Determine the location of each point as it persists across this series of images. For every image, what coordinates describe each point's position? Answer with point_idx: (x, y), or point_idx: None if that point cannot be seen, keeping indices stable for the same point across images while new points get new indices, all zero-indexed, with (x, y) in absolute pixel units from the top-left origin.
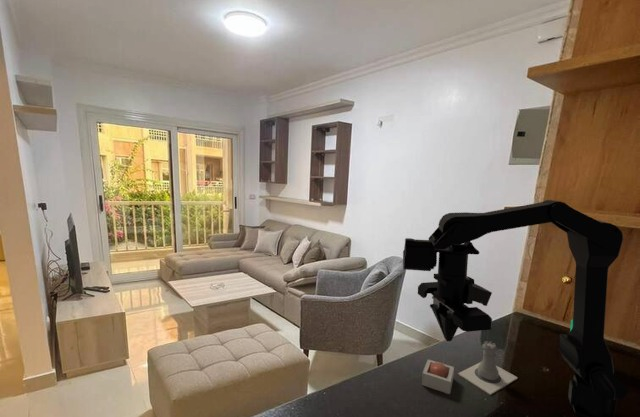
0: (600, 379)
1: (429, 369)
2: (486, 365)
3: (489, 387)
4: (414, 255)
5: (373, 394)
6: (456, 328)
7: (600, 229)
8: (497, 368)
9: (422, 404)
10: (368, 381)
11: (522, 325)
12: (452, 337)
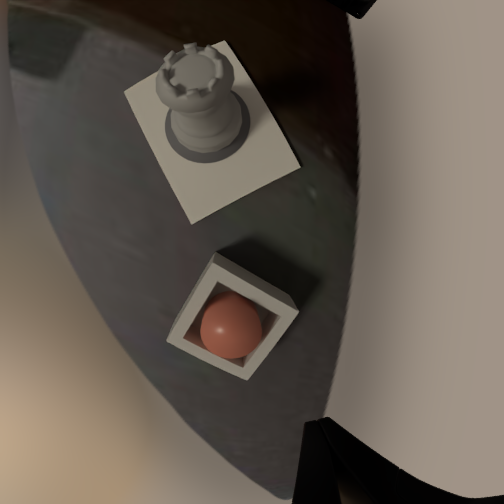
0: None
1: (198, 335)
2: (219, 124)
3: (269, 150)
4: None
5: (271, 444)
6: (402, 476)
7: None
8: None
9: (314, 371)
10: (230, 448)
11: None
12: (344, 432)
